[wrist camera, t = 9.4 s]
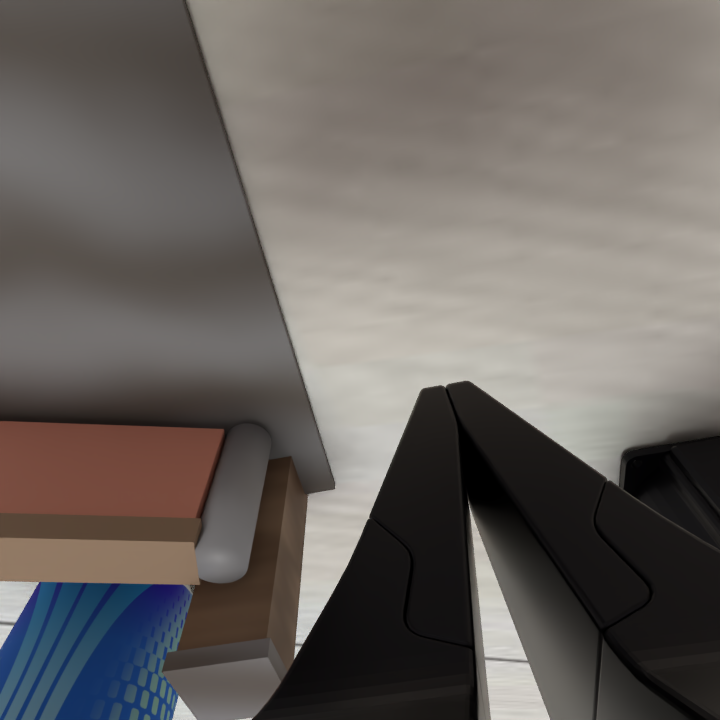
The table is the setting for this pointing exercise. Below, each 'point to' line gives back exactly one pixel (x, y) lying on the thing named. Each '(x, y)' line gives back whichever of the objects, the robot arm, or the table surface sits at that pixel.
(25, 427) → the bar
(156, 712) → the beer can
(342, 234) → the table surface
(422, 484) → the robot arm
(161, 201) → the gate frame
